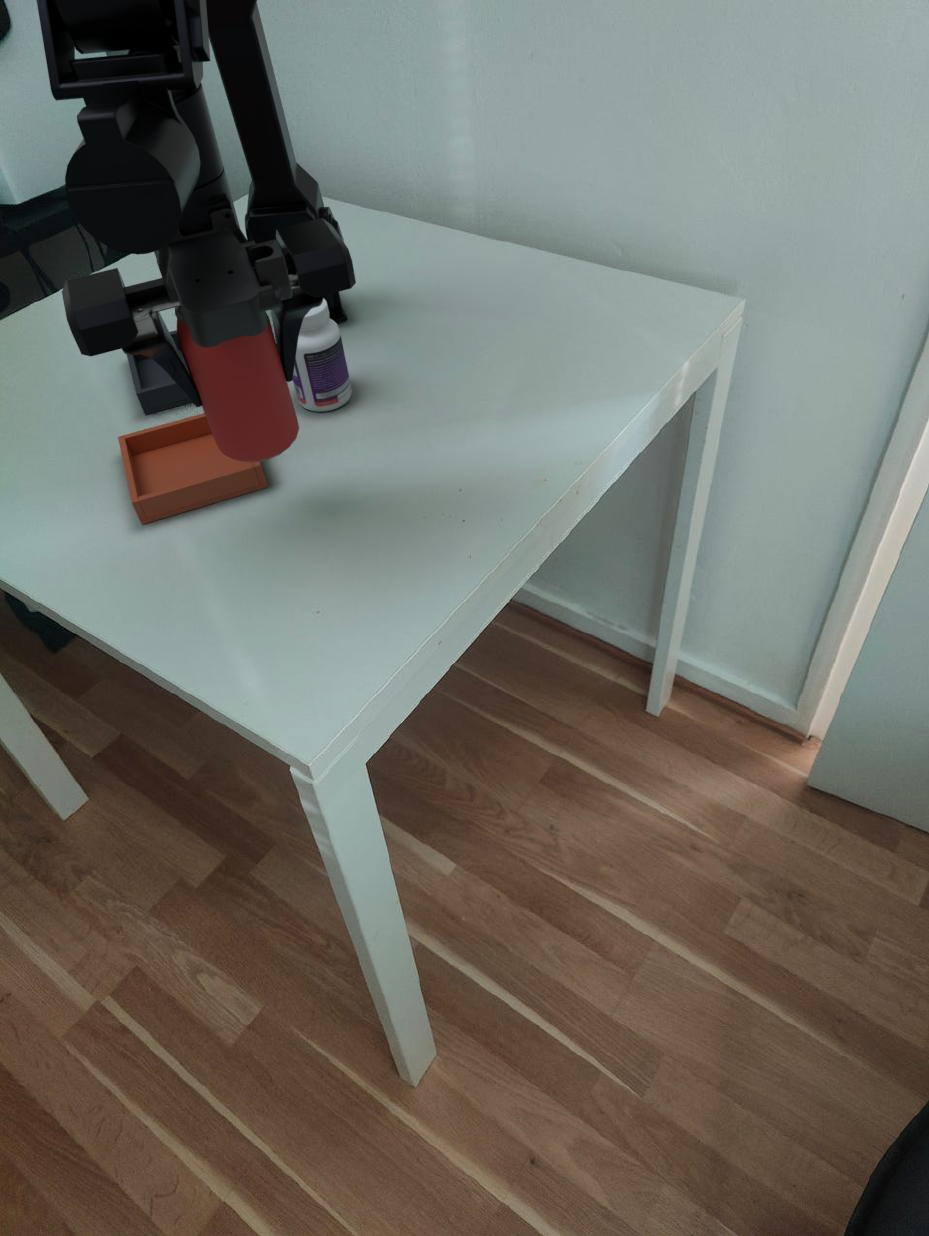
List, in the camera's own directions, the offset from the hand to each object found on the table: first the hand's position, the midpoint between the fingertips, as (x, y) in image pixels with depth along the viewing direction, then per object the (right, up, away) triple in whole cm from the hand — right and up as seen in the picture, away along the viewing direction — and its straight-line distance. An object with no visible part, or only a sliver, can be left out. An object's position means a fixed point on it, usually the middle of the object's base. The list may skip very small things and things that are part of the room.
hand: (243, 391), depth 65 cm
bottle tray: (-8, -4, +14) cm, 17 cm away
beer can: (0, -3, +4) cm, 5 cm away
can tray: (-11, +9, +25) cm, 29 cm away
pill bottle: (+3, +5, +21) cm, 21 cm away
